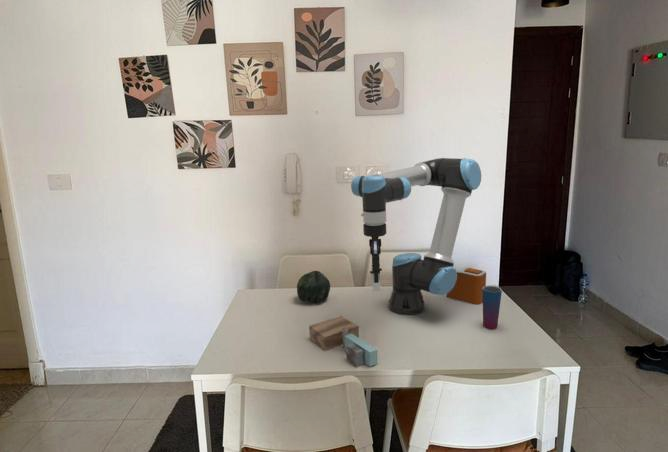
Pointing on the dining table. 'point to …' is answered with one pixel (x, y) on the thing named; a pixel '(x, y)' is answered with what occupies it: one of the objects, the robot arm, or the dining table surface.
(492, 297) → the cup
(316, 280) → the squash
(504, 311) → the dining table surface
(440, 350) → the dining table surface
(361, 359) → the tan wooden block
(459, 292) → the brown toaster
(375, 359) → the teal block
